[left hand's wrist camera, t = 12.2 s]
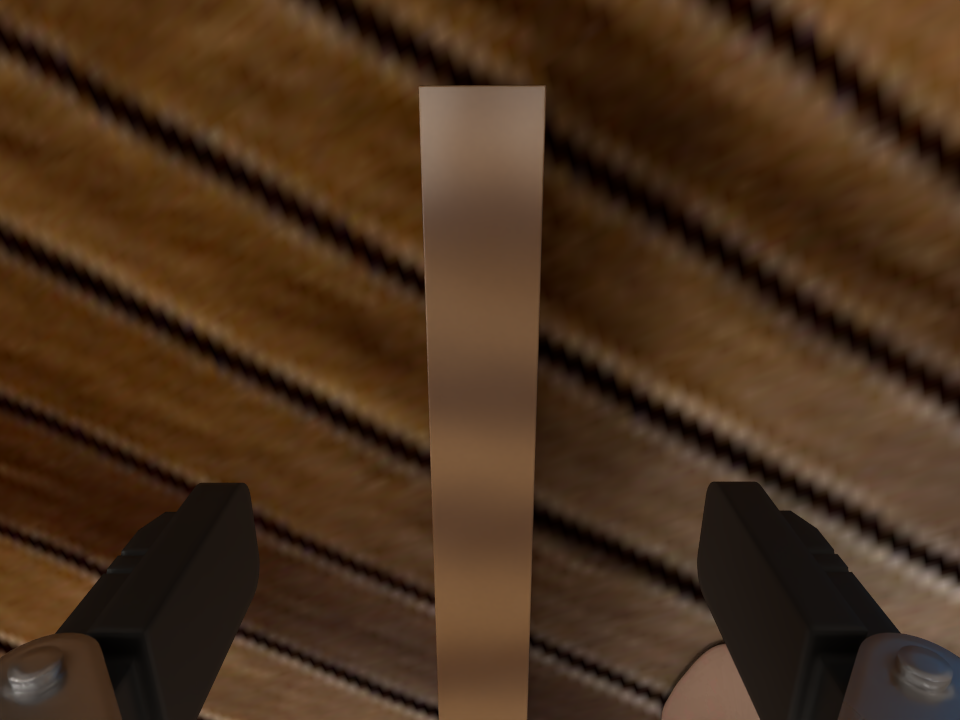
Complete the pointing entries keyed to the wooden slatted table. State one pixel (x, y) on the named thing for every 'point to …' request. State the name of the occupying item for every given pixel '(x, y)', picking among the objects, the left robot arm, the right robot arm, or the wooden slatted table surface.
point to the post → (482, 383)
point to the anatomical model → (710, 691)
